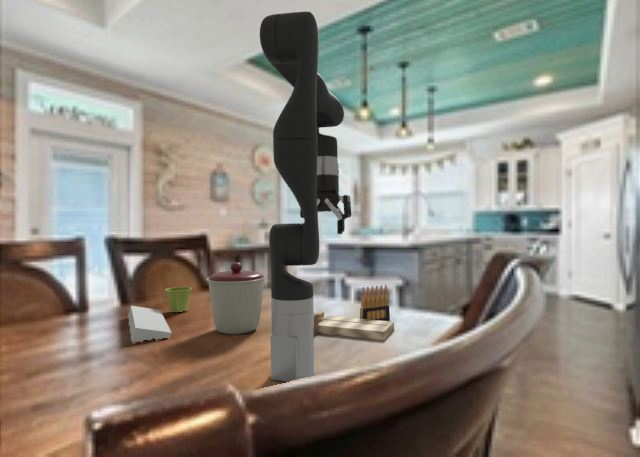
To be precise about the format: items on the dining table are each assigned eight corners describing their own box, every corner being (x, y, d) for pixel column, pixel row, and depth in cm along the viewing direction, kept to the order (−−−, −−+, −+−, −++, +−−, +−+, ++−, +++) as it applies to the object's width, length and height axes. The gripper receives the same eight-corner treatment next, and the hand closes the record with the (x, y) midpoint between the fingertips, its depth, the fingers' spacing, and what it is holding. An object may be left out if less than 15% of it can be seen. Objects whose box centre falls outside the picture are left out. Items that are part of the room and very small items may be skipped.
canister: (235, 320, 140) (234, 258, 139) (278, 327, 130) (277, 261, 130) (194, 333, 124) (193, 264, 124) (239, 342, 115) (238, 267, 114)
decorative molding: (156, 323, 150) (127, 318, 145) (160, 310, 150) (130, 305, 146) (167, 349, 119) (130, 344, 115) (171, 332, 120) (135, 327, 115)
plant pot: (164, 310, 157) (164, 287, 157) (190, 307, 161) (190, 285, 161) (166, 315, 148) (166, 291, 148) (193, 312, 152) (193, 289, 152)
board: (394, 329, 126) (394, 321, 126) (384, 340, 115) (384, 331, 115) (311, 321, 137) (311, 314, 137) (294, 330, 126) (294, 322, 126)
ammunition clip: (362, 324, 132) (362, 287, 132) (359, 323, 134) (359, 286, 134) (390, 320, 137) (389, 284, 137) (386, 319, 139) (386, 284, 138)
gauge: (311, 338, 118) (311, 315, 118) (298, 336, 120) (297, 314, 119) (328, 327, 129) (328, 306, 129) (315, 326, 131) (315, 305, 131)
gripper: (295, 174, 111) (296, 234, 112) (344, 171, 106) (345, 234, 106) (307, 177, 118) (307, 233, 119) (354, 174, 113) (354, 233, 113)
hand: (325, 233), depth 112 cm, fingers open, 8 cm apart
